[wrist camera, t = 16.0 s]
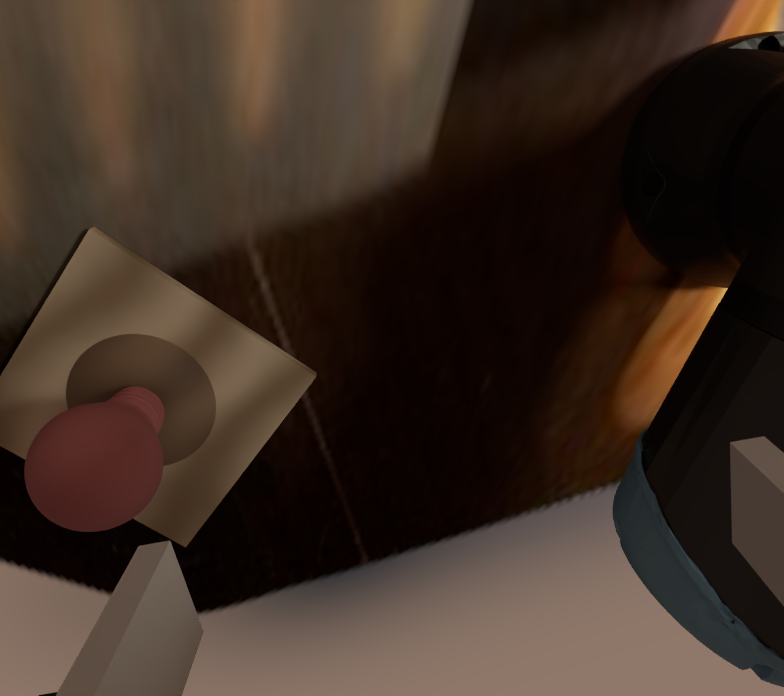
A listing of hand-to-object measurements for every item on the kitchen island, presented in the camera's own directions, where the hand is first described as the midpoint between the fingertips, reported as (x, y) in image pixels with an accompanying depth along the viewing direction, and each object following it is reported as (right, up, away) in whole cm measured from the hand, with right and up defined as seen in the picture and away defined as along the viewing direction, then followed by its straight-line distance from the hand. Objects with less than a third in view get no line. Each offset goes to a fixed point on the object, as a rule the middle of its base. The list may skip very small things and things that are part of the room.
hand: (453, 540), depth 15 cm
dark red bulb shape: (-18, +1, +30) cm, 35 cm away
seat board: (-19, +1, +30) cm, 36 cm away
